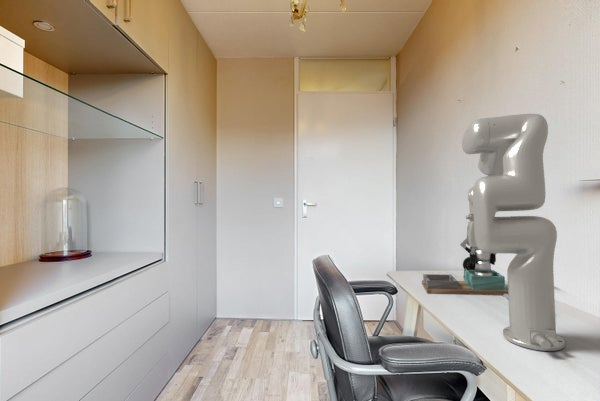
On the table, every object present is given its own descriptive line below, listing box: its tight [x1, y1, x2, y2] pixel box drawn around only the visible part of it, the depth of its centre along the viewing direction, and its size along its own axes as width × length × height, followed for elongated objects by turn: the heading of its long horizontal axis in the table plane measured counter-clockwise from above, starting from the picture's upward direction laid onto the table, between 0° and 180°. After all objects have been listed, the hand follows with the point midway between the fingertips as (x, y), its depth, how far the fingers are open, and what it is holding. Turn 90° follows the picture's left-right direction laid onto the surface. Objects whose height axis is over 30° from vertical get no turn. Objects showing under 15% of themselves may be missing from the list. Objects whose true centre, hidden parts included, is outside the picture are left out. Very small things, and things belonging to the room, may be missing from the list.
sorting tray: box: [421, 269, 508, 296], centre depth 124 cm, size 14×28×6 cm, turn 77°
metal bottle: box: [474, 248, 493, 276], centre depth 122 cm, size 6×7×20 cm
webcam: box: [462, 256, 475, 271], centre depth 139 cm, size 8×8×10 cm
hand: (482, 263), depth 122 cm, fingers closed on metal bottle, 6 cm apart
